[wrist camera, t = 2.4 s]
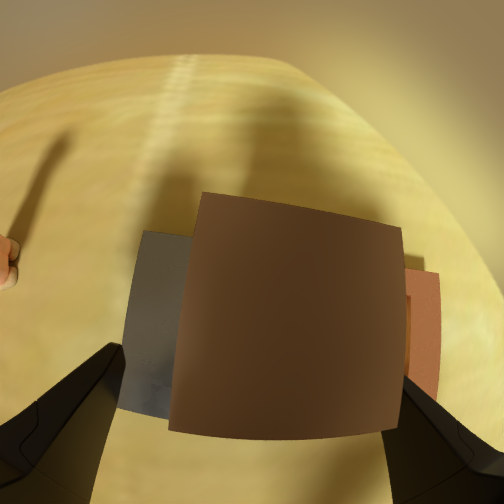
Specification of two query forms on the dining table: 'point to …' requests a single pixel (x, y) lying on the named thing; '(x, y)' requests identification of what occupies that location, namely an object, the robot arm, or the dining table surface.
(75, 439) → the robot arm
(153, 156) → the dining table surface
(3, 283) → the grandmother figurine
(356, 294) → the walnut post
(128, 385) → the grey-tan flat frame piece
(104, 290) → the dining table surface
